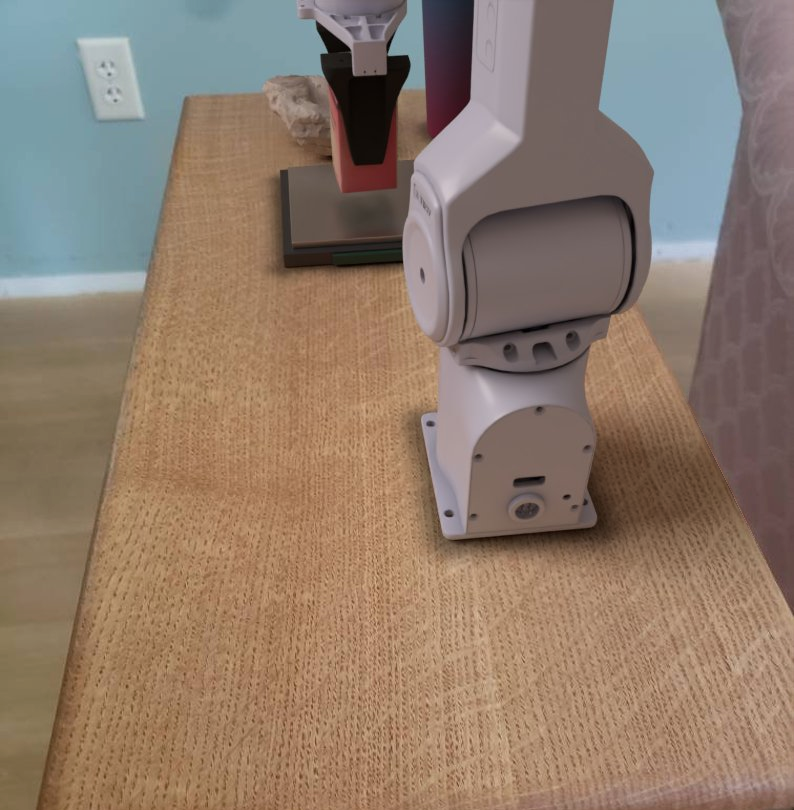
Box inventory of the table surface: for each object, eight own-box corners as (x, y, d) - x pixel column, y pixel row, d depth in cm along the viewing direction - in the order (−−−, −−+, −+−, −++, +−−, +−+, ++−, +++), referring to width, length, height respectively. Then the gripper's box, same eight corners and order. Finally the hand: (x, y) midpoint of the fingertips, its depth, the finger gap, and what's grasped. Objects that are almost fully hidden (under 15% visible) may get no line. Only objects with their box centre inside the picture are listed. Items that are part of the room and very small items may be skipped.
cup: (465, 155, 72) (476, -54, 61) (401, 134, 75) (400, -69, 64) (509, 126, 76) (526, -76, 65) (446, 108, 79) (452, -89, 67)
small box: (331, 164, 65) (324, 51, 59) (387, 159, 65) (385, 46, 59) (340, 196, 61) (333, 79, 55) (399, 190, 62) (399, 74, 56)
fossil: (349, 72, 77) (386, 62, 68) (355, 151, 79) (392, 151, 71) (253, 77, 74) (279, 67, 66) (263, 159, 77) (289, 159, 68)
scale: (465, 258, 61) (466, 239, 60) (284, 270, 60) (282, 251, 59) (439, 171, 70) (440, 153, 69) (280, 181, 69) (278, 163, 68)
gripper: (286, -110, 56) (305, 105, 66) (292, -45, 46) (313, 196, 56) (393, -114, 56) (396, 100, 66) (422, -50, 47) (419, 189, 57)
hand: (364, 144), depth 61 cm, fingers closed on small box, 5 cm apart
